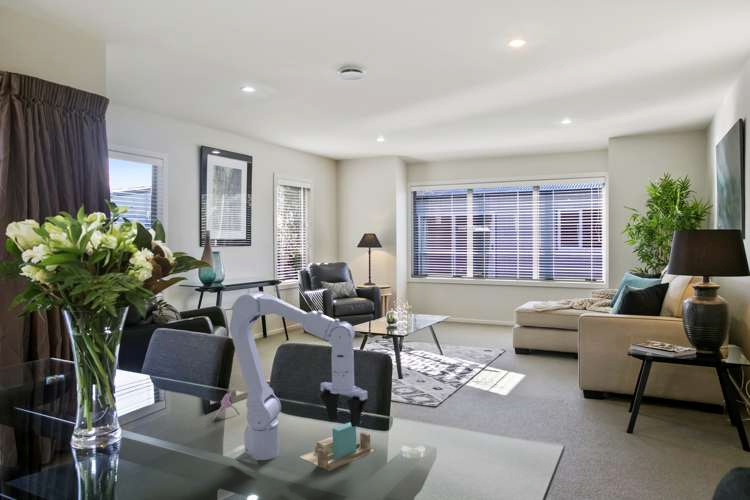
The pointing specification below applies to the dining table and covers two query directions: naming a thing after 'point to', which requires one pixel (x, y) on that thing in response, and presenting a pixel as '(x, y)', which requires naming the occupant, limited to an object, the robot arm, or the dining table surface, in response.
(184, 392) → the dining table surface
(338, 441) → the teal panel
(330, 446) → the offcut stack
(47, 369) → the dining table surface
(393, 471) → the dining table surface
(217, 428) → the dining table surface
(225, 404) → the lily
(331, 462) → the birch rack
